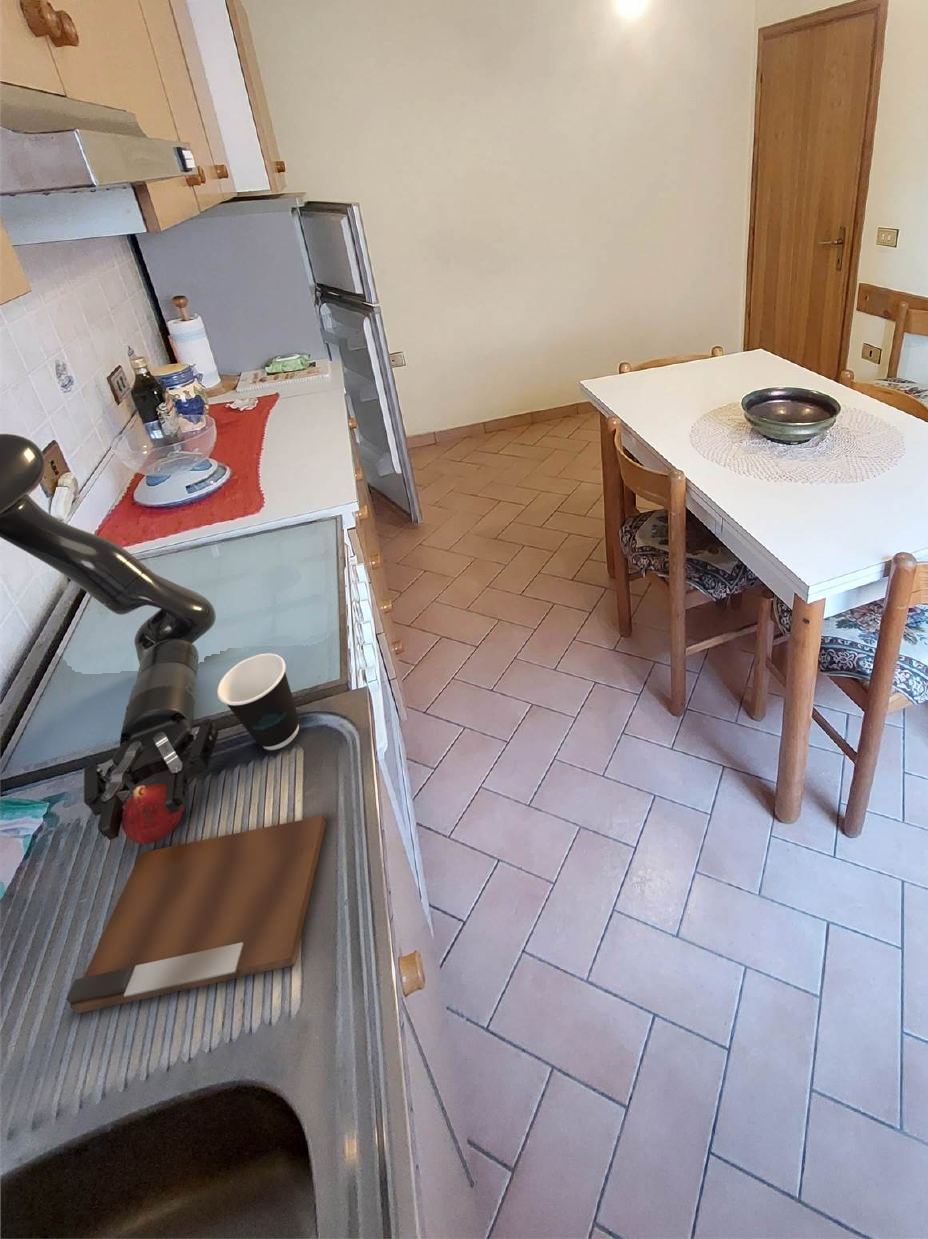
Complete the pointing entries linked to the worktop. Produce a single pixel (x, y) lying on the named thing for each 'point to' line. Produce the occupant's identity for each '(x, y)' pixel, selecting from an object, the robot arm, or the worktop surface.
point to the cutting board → (205, 915)
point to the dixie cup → (261, 699)
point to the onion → (148, 815)
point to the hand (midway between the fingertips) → (141, 821)
